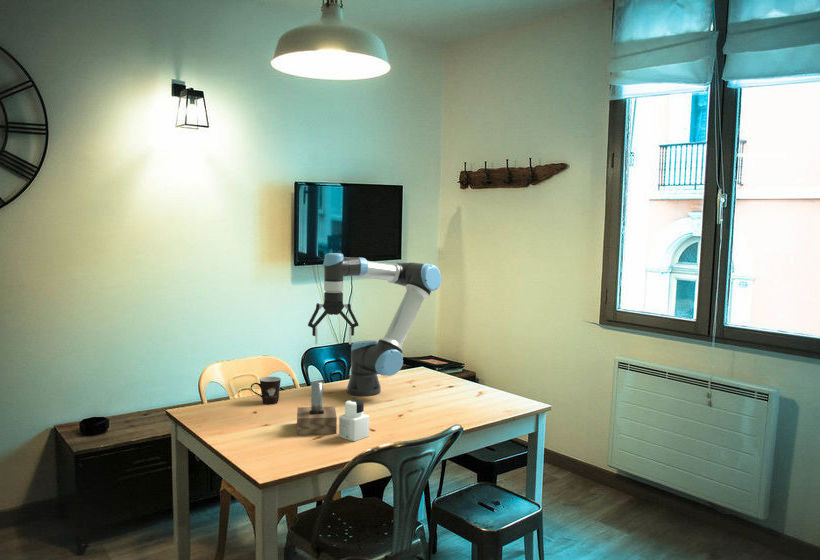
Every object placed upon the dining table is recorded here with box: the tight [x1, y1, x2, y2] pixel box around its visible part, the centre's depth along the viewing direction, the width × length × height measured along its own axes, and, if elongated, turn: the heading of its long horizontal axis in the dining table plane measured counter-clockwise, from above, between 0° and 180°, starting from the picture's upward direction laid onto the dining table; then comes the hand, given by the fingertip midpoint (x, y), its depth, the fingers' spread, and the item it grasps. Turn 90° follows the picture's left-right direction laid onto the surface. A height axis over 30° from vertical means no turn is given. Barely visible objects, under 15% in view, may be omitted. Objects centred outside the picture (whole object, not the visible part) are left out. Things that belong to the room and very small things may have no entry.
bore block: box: [296, 405, 338, 436], centre depth 234 cm, size 14×14×6 cm
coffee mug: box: [250, 376, 282, 406], centre depth 267 cm, size 12×9×10 cm
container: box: [338, 398, 370, 442], centre depth 226 cm, size 8×8×13 cm
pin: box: [310, 380, 324, 415], centre depth 234 cm, size 4×4×15 cm
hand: (333, 343), depth 258 cm, fingers open, 13 cm apart
